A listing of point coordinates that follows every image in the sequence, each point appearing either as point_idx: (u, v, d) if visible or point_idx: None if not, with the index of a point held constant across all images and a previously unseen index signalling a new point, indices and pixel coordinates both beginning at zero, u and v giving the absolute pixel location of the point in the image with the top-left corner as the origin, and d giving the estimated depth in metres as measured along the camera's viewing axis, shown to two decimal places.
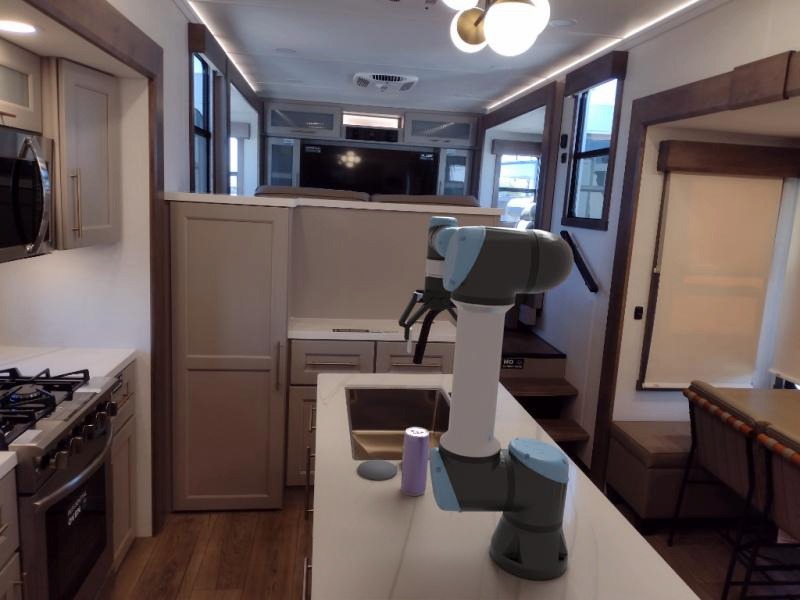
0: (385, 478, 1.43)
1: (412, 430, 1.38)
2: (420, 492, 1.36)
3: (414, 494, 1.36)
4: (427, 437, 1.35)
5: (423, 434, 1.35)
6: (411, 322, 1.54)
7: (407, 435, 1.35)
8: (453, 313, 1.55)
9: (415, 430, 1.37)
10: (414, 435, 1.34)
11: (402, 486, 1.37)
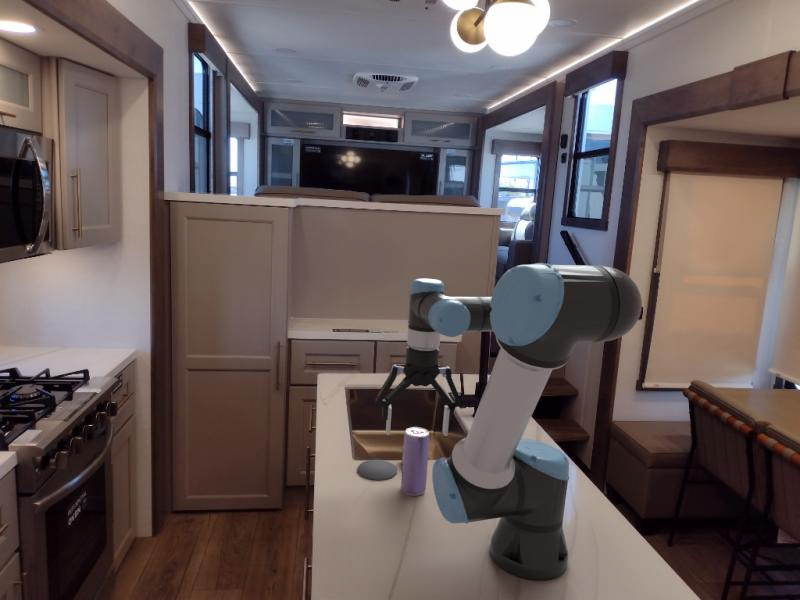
0: (385, 478, 1.43)
1: (412, 430, 1.38)
2: (420, 492, 1.36)
3: (414, 494, 1.36)
4: (427, 437, 1.35)
5: (423, 434, 1.35)
6: (390, 400, 1.33)
7: (407, 435, 1.35)
8: (439, 389, 1.34)
9: (415, 430, 1.37)
10: (414, 435, 1.34)
11: (402, 486, 1.37)
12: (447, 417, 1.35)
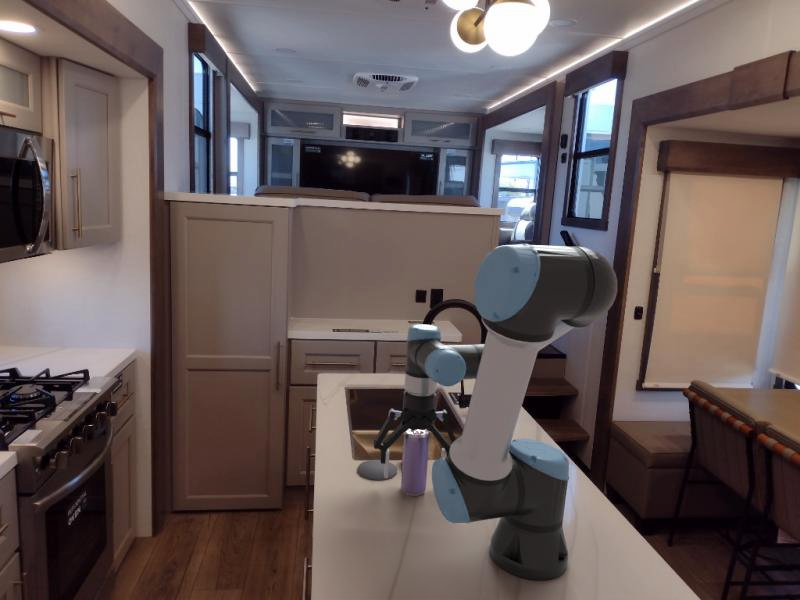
0: (385, 478, 1.43)
1: (412, 430, 1.38)
2: (420, 492, 1.36)
3: (414, 494, 1.36)
4: (427, 437, 1.35)
5: (423, 434, 1.35)
6: (388, 444, 1.35)
7: (407, 435, 1.35)
8: (436, 433, 1.36)
9: (415, 430, 1.37)
10: (414, 435, 1.34)
11: (402, 486, 1.37)
12: None
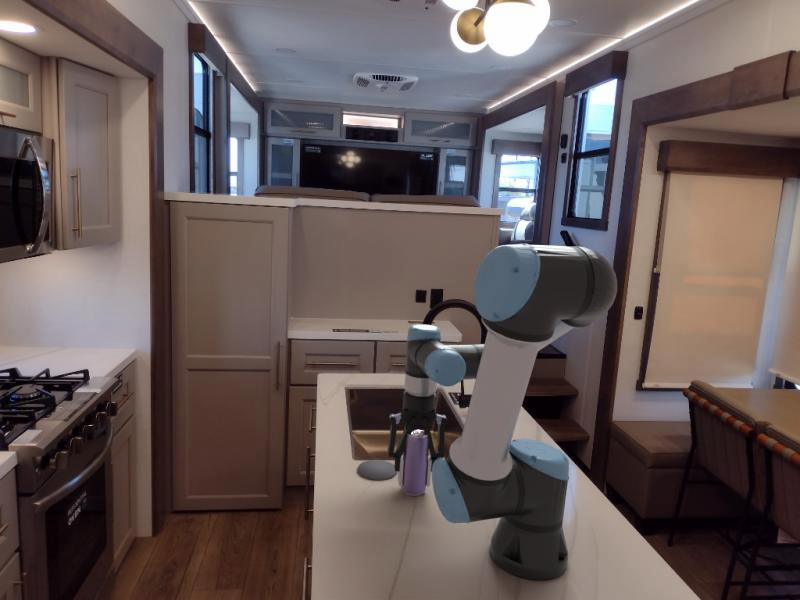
0: (385, 478, 1.43)
1: (412, 430, 1.38)
2: (420, 492, 1.36)
3: (414, 494, 1.36)
4: (427, 437, 1.35)
5: (423, 434, 1.35)
6: (400, 451, 1.36)
7: (407, 435, 1.35)
8: (429, 437, 1.36)
9: (415, 430, 1.37)
10: (414, 435, 1.34)
11: (402, 486, 1.37)
12: (429, 468, 1.37)
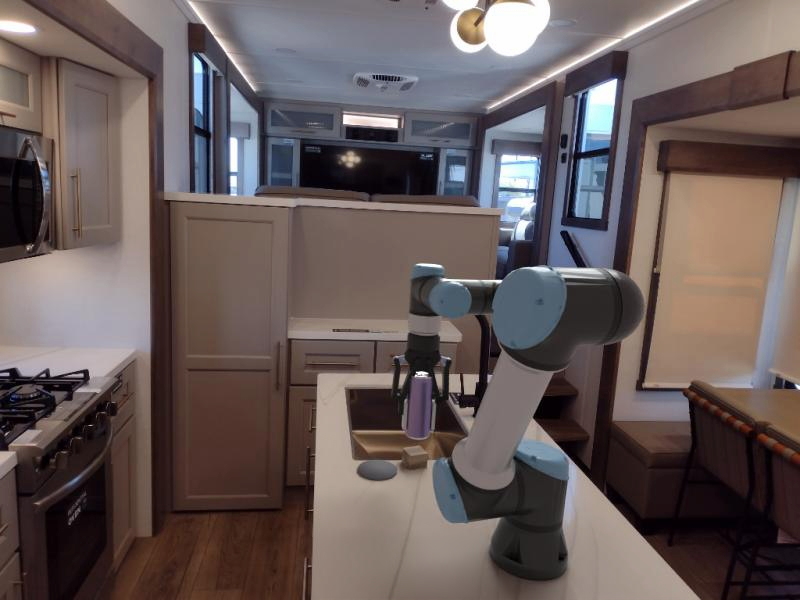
0: (385, 478, 1.43)
1: (416, 373, 1.35)
2: (424, 436, 1.34)
3: (418, 438, 1.33)
4: (431, 379, 1.33)
5: (427, 376, 1.33)
6: (404, 393, 1.33)
7: (411, 377, 1.32)
8: (433, 379, 1.33)
9: (419, 373, 1.35)
10: (418, 376, 1.32)
11: (406, 430, 1.35)
12: (433, 411, 1.34)
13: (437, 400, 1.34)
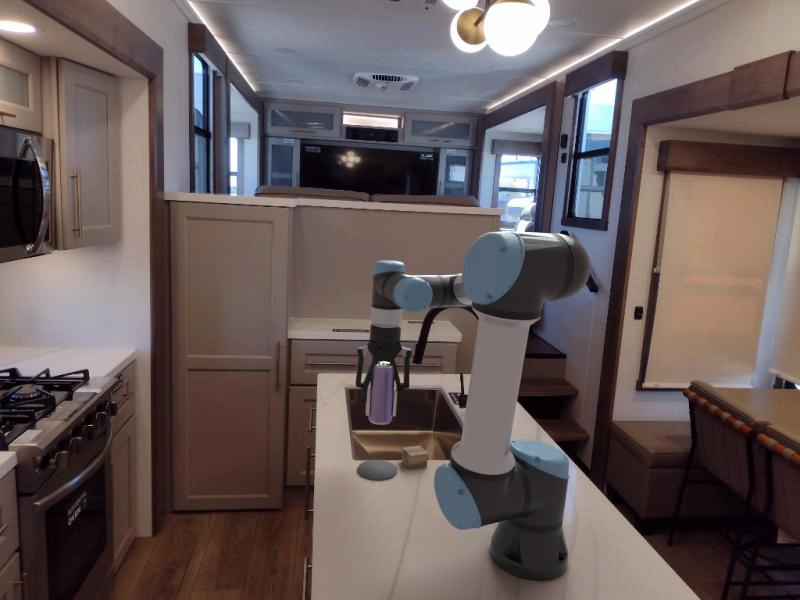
0: (385, 478, 1.43)
1: (379, 362, 1.44)
2: (386, 421, 1.43)
3: (380, 423, 1.43)
4: (393, 368, 1.42)
5: (389, 365, 1.42)
6: (367, 381, 1.42)
7: None
8: (394, 368, 1.42)
9: (382, 362, 1.44)
10: (380, 366, 1.41)
11: (369, 416, 1.44)
12: (395, 398, 1.44)
13: (398, 388, 1.43)
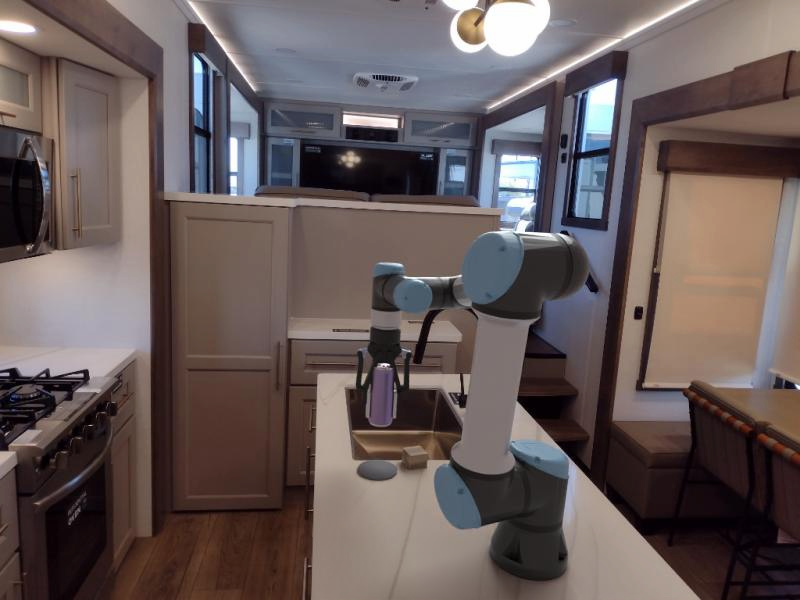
0: (385, 478, 1.43)
1: (379, 364, 1.44)
2: (386, 423, 1.43)
3: (380, 425, 1.43)
4: (392, 370, 1.42)
5: (389, 367, 1.42)
6: (367, 384, 1.42)
7: None
8: (394, 370, 1.42)
9: (382, 364, 1.44)
10: (380, 368, 1.41)
11: (369, 418, 1.44)
12: (395, 400, 1.44)
13: (398, 390, 1.43)
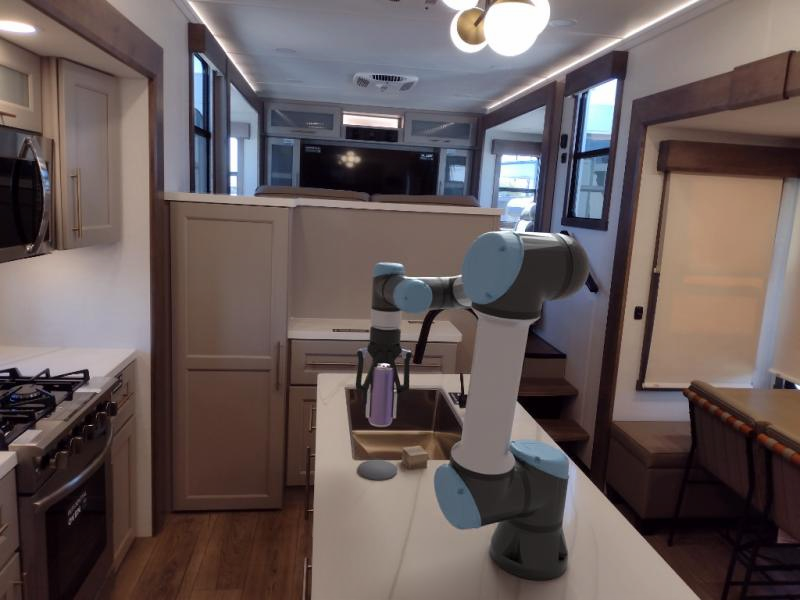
0: (385, 478, 1.43)
1: (379, 364, 1.44)
2: (386, 423, 1.43)
3: (380, 425, 1.43)
4: (392, 370, 1.42)
5: (389, 367, 1.42)
6: (367, 384, 1.42)
7: None
8: (394, 370, 1.42)
9: (382, 364, 1.44)
10: (380, 368, 1.41)
11: (369, 418, 1.44)
12: (395, 400, 1.44)
13: (398, 390, 1.43)
